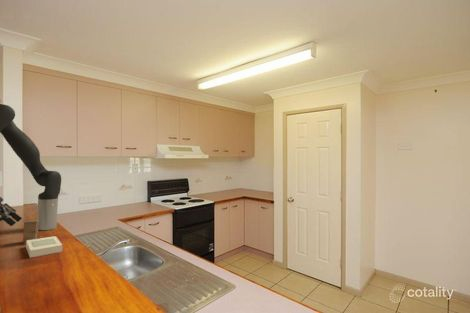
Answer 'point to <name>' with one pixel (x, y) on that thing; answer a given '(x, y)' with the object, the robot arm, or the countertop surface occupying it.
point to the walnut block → (30, 230)
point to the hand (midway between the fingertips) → (17, 222)
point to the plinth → (43, 246)
